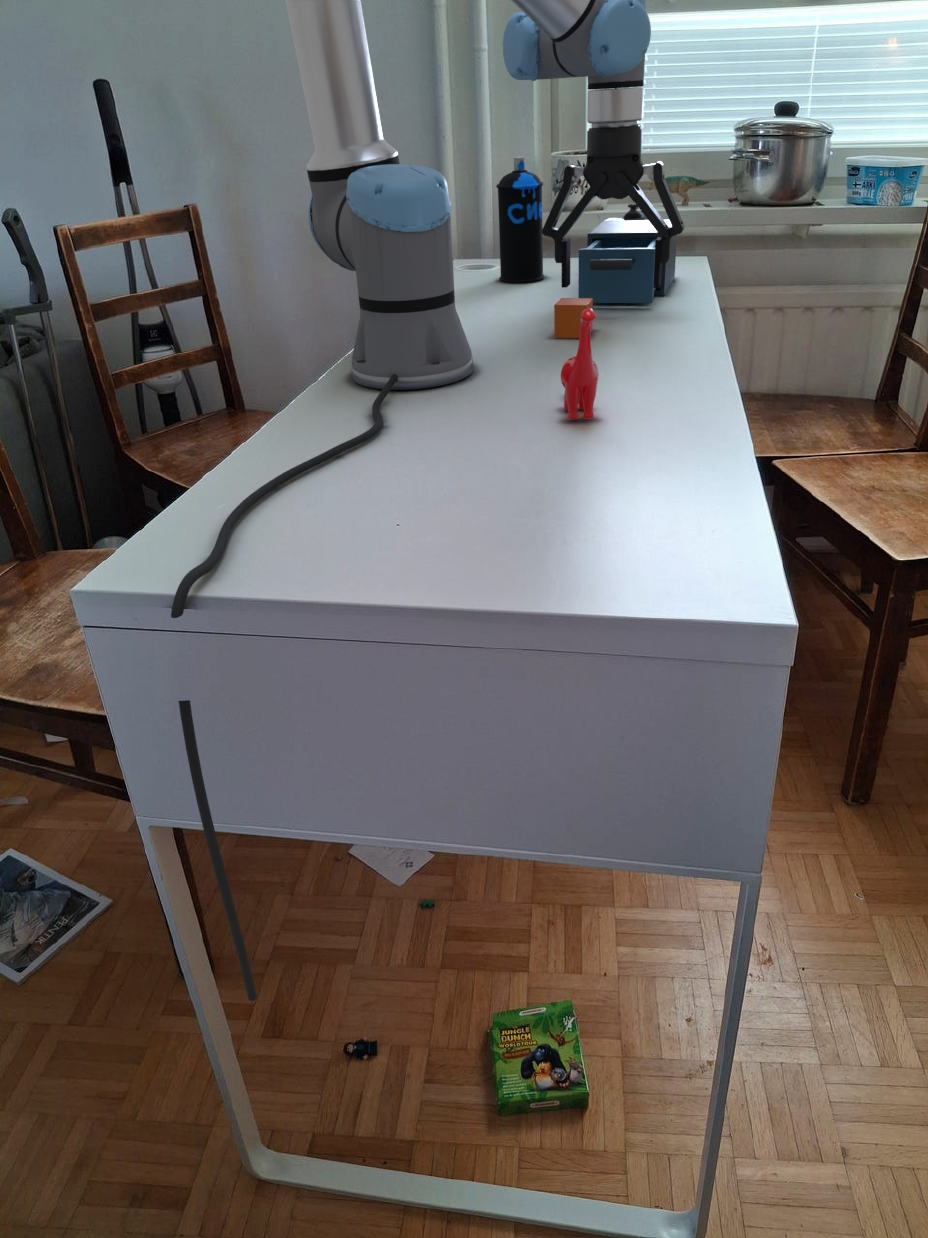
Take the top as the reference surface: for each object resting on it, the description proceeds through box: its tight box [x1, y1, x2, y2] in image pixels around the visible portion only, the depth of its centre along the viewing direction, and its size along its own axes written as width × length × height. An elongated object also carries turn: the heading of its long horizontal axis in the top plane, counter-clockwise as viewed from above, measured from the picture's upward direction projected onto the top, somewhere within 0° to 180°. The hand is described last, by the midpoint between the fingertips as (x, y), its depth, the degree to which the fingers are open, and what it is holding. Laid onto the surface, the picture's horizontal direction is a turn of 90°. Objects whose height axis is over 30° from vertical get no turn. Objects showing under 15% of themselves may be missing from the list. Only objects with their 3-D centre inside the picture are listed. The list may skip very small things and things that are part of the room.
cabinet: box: [586, 219, 678, 297], centre depth 156 cm, size 15×13×10 cm
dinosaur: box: [560, 309, 599, 421], centre depth 96 cm, size 4×15×12 cm, turn 1°
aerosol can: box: [495, 156, 545, 284], centre depth 165 cm, size 8×8×20 cm
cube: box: [553, 297, 594, 339], centre depth 130 cm, size 4×4×4 cm
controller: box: [621, 203, 648, 220], centre depth 181 cm, size 4×12×10 cm, turn 165°
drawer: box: [577, 238, 657, 304], centre depth 145 cm, size 18×11×8 cm, turn 163°
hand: (610, 286), depth 139 cm, fingers open, 13 cm apart
